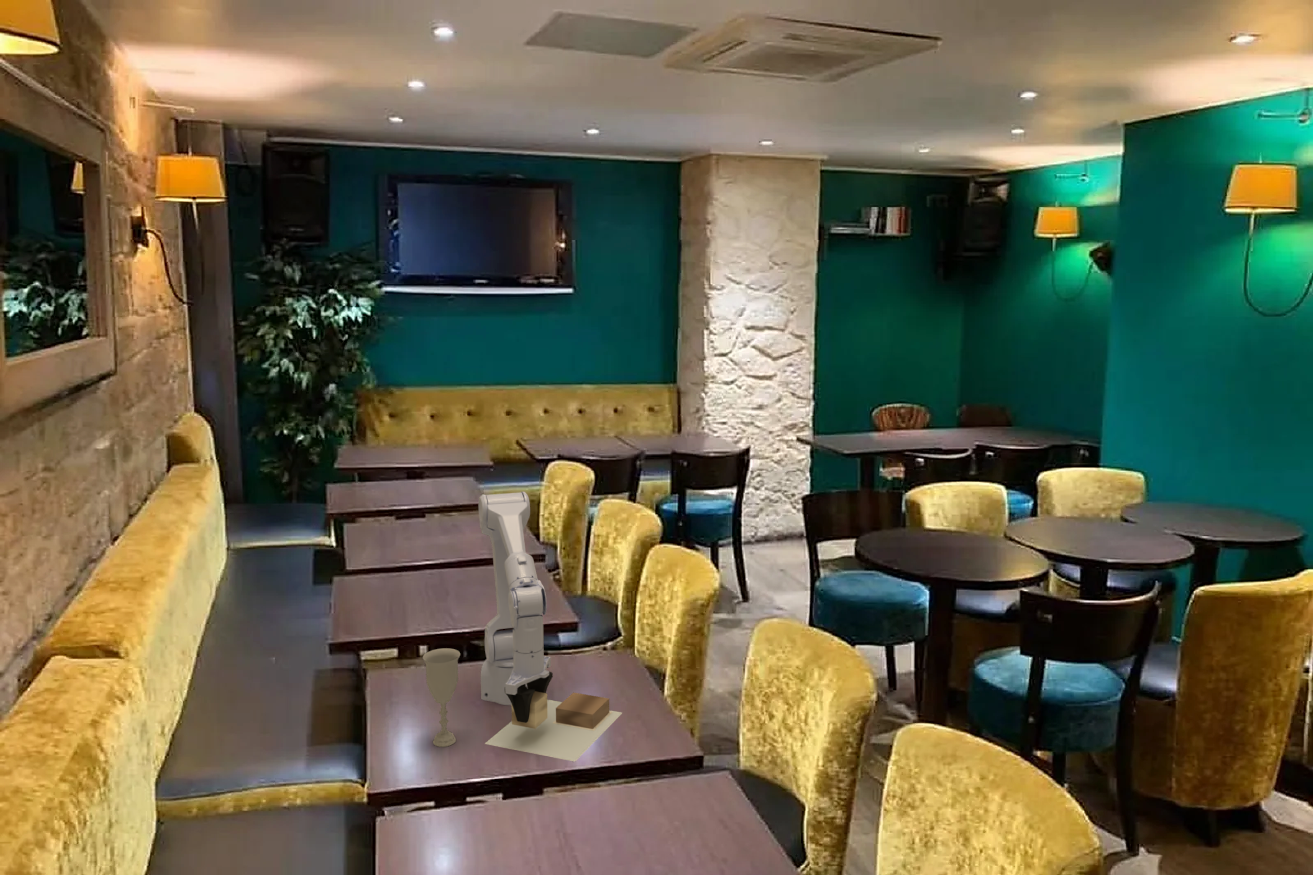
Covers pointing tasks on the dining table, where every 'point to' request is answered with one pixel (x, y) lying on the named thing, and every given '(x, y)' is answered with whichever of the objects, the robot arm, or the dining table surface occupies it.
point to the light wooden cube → (534, 711)
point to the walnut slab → (582, 710)
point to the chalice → (442, 686)
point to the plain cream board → (552, 736)
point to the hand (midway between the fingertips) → (529, 715)
